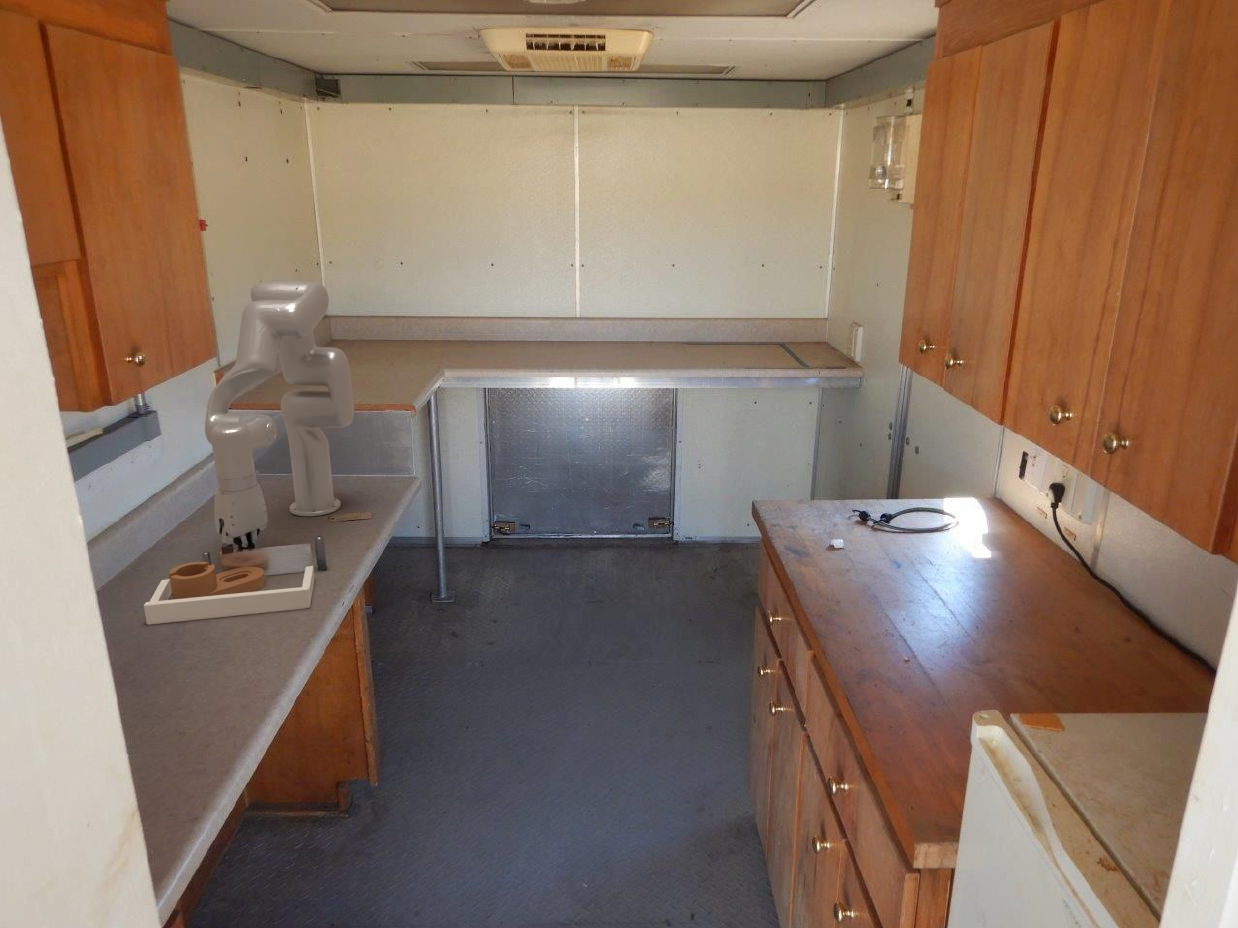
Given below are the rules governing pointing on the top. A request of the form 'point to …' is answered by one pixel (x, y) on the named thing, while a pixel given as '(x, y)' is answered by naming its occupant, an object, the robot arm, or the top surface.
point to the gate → (268, 558)
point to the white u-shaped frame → (227, 602)
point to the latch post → (206, 557)
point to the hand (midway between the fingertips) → (248, 560)
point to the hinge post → (320, 553)
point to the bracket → (213, 580)
